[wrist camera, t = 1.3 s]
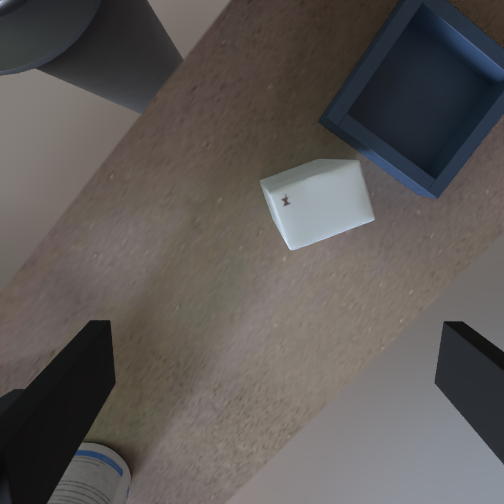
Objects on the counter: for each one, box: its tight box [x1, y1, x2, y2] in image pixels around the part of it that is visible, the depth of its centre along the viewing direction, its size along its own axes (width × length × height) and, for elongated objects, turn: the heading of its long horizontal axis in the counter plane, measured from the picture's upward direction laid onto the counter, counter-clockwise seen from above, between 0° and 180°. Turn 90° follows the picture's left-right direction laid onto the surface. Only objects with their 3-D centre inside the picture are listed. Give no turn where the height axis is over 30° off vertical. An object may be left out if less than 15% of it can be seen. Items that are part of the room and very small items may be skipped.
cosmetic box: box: [260, 159, 375, 250], centre depth 29 cm, size 6×4×12 cm
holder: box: [318, 0, 504, 199], centre depth 32 cm, size 12×12×4 cm
